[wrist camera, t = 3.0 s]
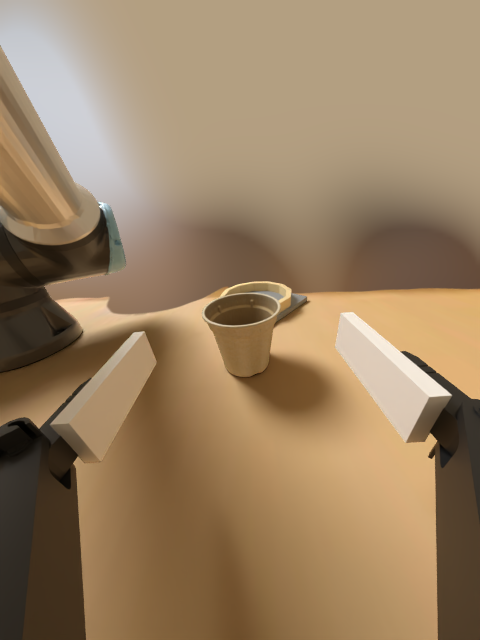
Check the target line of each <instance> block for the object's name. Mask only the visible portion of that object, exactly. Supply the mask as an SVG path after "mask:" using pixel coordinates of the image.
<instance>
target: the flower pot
mask: <svg viewBox="0 0 480 640" xmlns="http://www.w3.org/2000/svg"><path fill="white" fill-rule="evenodd" d="M280 310H281V305H280V302H279V301H278V300H277V299H275V298H274V297H272V296H269V295H266V294H261V293H238V294H232V295H227V296H224V297H221V298H218V299H215V300H214V301H212V302H210V303H208V304H207V305H206V306H205V307H204V309H203V311H202V317H203V319H204V320H205V322H207V323H208V325H209V328H210V329H211V330H212V331H213V333H214V336H215V339H216V342H217V344H218V347H219V350H220V352H221V355H222V358H223V361H224V365H225V367H226V369H227V370H228V371H229V372H230V373H231V374H233V375H236V376H239V377H251V376H252V375H254V374H257V373H261V372H263V371H264V370H265V369H266V367H267V366H268V363H269V355H270V347H271V340H272V333H273V326H274V324H275V322H276V319H277V315H278V314H279V312H280Z"/></svg>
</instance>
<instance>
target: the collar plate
mask: <svg viewBox="0 0 480 640" xmlns="http://www.w3.org/2000/svg"><path fill="white" fill-rule="evenodd" d="M238 293H261V294H266V295H269V296H272V297H274V298H275V299H277V300H278V301H279V302H280V305H281V310H280V312H279V314H278V315H277V319H276V322H277V321H279V320H280V319H282V318H283V317H284V316H286V315H287V314H289V313H290V312H292V311H293V310H294V309H296V308H297V307H299V306H300V305H302V304H303V303H305V302H306V301H307V296H302V295H297V294H293V293H291V289H290V288H288V287H286V286H285V285H283V284H279V283H273V282H250V283H244V284H239V285H236V286H233V287H231V288H228V289H226V290H225V291H224V292H223V293H222V294H221V296H220V298H221V297H224V296H227V295H232V294H238ZM276 322H275V323H276Z"/></svg>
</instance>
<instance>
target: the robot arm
mask: <svg viewBox="0 0 480 640" xmlns="http://www.w3.org/2000/svg"><path fill="white" fill-rule="evenodd" d="M125 266H126V259H125V254H124V250H123V246H122V243H121V239H120V236H119V231H118V228H117V224H116V221H115V218H114V215H113V212H112V209H111V207H110V206H109V205H108V204H106V203H101V202H97V201H96V199H95V198H94V196H93V195H92V194H91V193H90V192H89V191H88V190H87V189H85V188H84V187H82V186H81V185H79V184H77V183H75V182H74V181H73V179H72V177H71V175H70V173H69V171H68V170H67V168H66V166H65V164H64V162H63V160H62V159H61V157H60V155H59V153H58V151H57V149H56V147H55V146H54V144H53V142H52V140H51V138H50V137H49V135H48V133H47V131H46V129H45V127H44V125H43V123H42V122H41V120H40V118H39V116H38V114H37V112H36V111H35V109H34V107H33V105H32V103H31V101H30V100H29V98H28V96H27V94H26V92H25V90H24V88H23V87H22V85H21V83H20V81H19V79H18V77H17V76H16V74H15V72H14V70H13V68H12V66H11V64H10V62H9V61H8V59H7V57H6V55H5V53H4V52H3V50H2V48H1V46H0V372H4V371H8V370H12V369H15V368H19V367H22V366H25V365H28V364H30V363H33V362H36V361H38V360H41V359H43V358H45V357H47V356H49V355H51V354H53V353H55V352H57V351H59V350H61V349H63V348H64V347H66V346H67V345H69V344H70V343H72V342H73V341H74V340H75V339H77V338H78V337H79V335H80V334H81V332H82V328H81V326H80V324H79V323H78V321H77V320H76V318H74V317H73V316H72V315H71V314H70V313H68V312H67V311H66V310H65V309H64V308H63V307H61V306H60V305H59V304H58V303H57V302H55V301H54V300H53V299H52V298H51V297H50V295H49V294H48V292H47V290H46V289H45V287H44V286H45V285H51V284H56V283H61V282H66V281H72V280H77V279H83V278H89V277H95V276H101V275H108V274H110V273H114V272H118V271H121V270H123V269H124V268H125ZM335 348H336V349H337V351H338V352H339V353H340V355H341V356H342V357H343V359H344V360H345V361H346V363H347V364H348V366H349V367H350V368H351V370H352V371H353V372H354V374H355V375H356V376H357V378H358V379H359V380H360V382H361V383H362V384H363V386H364V387H365V389H366V390H367V391H368V393H369V394H370V395H371V397H372V398H373V399H374V401H375V402H376V403H377V405H378V406H379V408H380V409H381V410H382V412H383V413H384V414H385V416H386V417H387V418H388V420H389V421H390V422H391V424H392V425H393V426H394V428H395V429H396V431H397V432H398V433H399V435H400V436H401V437H402V439H403V440H404V441H405V443H410V442H425V440H426V439H427V437H428V435H429V434H430V433H431V434H432V435H433V436H434V437H435V438H436V440H437V443H436V444H435V446H434V447H433V449H432V450H431V452H430V453H429V456H428V457H429V458H431V459H432V458H433V456H434V455H435V479H436V543H437V606H438V640H480V400H478V399H471V398H469V397H468V396H467V395H465V394H464V393H463V392H462V391H460V390H459V389H458V388H457V387H455V386H454V385H453V384H451V383H450V382H449V381H448V380H446V379H445V378H444V377H442V376H441V375H440V374H439V373H436V371H435V370H434V369H432V368H431V367H428V365H427V364H426V363H425V362H423V361H422V360H421V359H420V358H418V357H416V356H414V355H412V354H410V353H408V352H406V351H402V352H400V351H399V350H397V349H396V348H395V347H394V346H393V345H391V344H390V343H389V342H388V341H387V340H385V339H384V338H383V337H382V336H381V335H380V334H378V333H377V332H376V331H375V330H374V329H372V328H371V327H370V326H369V325H368V324H366V323H365V322H364V321H363V320H362V319H360V318H359V317H358V316H357V315H356V314H354V313H353V312H347V313H341V314H340V320H339V326H338V332H337V339H336V345H335ZM156 363H157V361H156V359H155V356H154V354H153V351H152V349H151V346H150V344H149V341H148V339H147V336H146V334H145V331H143V332H134V333H133V334H132V335H131V336H130V337H129V338H128V339H127V340H126V341H125V342H124V344H123V345H122V346H121V347H120V348H119V349H118V350H117V351H116V352H115V353H114V355H113V356H112V357H111V358H110V359H109V360H108V361H107V362H106V363H105V364H104V366H103V367H102V368H101V369H100V370H99V371H98V372H97V373H96V374H95V375H94V377H93V378H90V379H88V380H87V381H86V382H84V383H83V384H81V385H80V386H79V387H78V388H77V389H76V390H75V391H74V392H73V394H72V396H70V397H69V398H68V399H67V400H66V402H65V403H63V404H62V405H61V406H60V407H59V408H58V409H57V411H56V412H55V413H54V414H53V415H52V416H51V417H50V418H49V419H48V420H47V421H46V422H45V423H44V424H43V425H42V426H41V428H40V429H38V427H37V426H36V425H35V424H34V423H33V422H32V421H31V420H30V419H29V418H25V417H24V418H18V419H15V420H13V421H10V422H8V423H6V424H4V425H2V426H1V427H0V640H86V632H85V615H84V598H83V581H82V564H81V548H80V531H79V514H78V497H77V480H76V468H75V466H74V465H73V462H74V461H75V459H76V458H77V456H79V458H80V459H81V460H82V461H83V462H84V463H94V462H101V461H102V460H103V458H104V456H105V454H106V452H107V451H108V449H109V447H110V445H111V444H112V442H113V440H114V438H115V436H116V435H117V433H118V431H119V429H120V427H121V426H122V424H123V422H124V420H125V419H126V417H127V415H128V413H129V411H130V410H131V408H132V406H133V404H134V403H135V401H136V399H137V397H138V395H139V394H140V392H141V390H142V388H143V387H144V385H145V383H146V381H147V379H148V378H149V376H150V374H151V372H152V371H153V369H154V367H155V365H156Z"/></svg>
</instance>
